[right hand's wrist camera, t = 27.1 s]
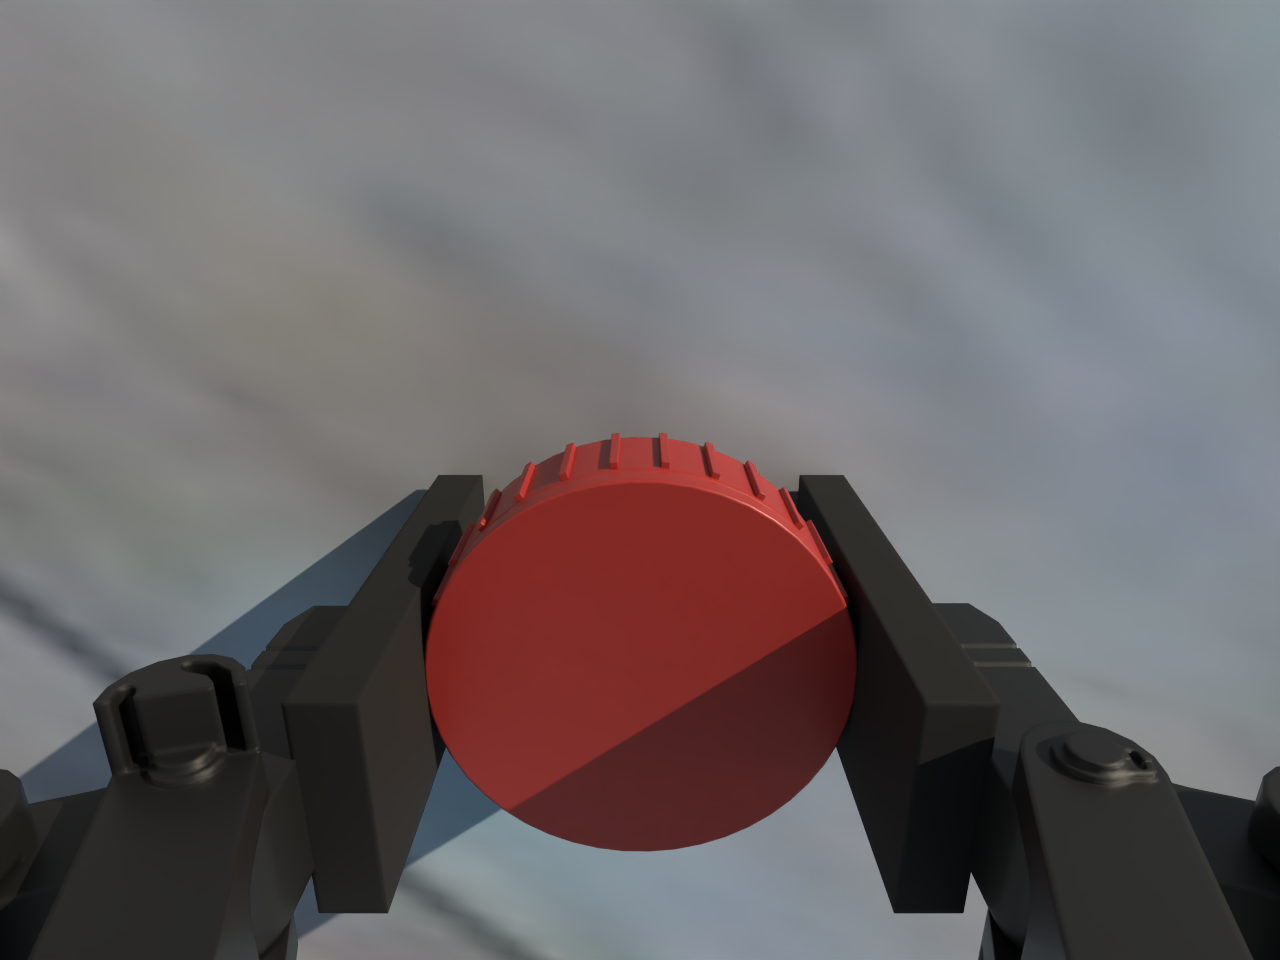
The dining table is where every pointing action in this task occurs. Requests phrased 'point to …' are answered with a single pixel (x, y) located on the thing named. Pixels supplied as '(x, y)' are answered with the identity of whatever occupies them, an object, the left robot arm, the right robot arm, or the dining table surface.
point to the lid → (640, 647)
